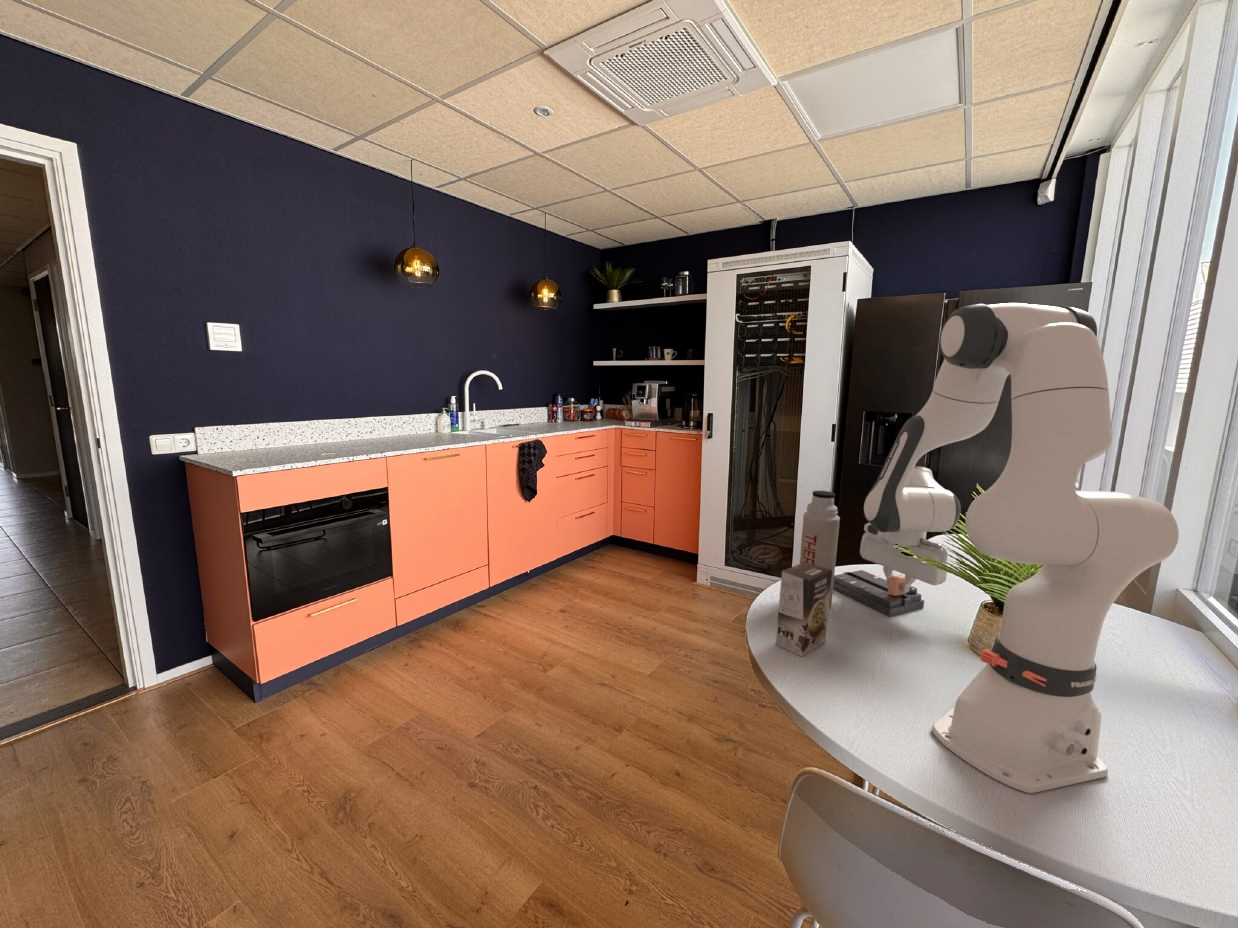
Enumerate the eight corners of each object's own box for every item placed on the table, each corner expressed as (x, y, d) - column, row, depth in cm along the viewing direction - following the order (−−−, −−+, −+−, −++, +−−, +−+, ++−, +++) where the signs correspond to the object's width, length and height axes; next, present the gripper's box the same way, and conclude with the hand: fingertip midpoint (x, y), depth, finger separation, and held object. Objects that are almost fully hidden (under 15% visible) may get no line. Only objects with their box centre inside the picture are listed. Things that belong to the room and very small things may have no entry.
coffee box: (802, 657, 100) (809, 580, 97) (774, 644, 105) (780, 570, 102) (826, 643, 106) (833, 569, 103) (798, 631, 111) (804, 560, 108)
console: (889, 617, 118) (891, 599, 117) (828, 587, 134) (829, 571, 133) (923, 608, 123) (925, 591, 122) (860, 580, 139) (862, 565, 138)
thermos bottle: (810, 613, 119) (820, 496, 114) (789, 598, 127) (798, 489, 122) (838, 609, 122) (849, 495, 117) (816, 595, 129) (826, 487, 124)
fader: (894, 602, 121) (896, 579, 120) (886, 598, 123) (889, 576, 122) (905, 599, 123) (908, 577, 122) (898, 596, 124) (900, 574, 123)
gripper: (957, 544, 112) (949, 603, 114) (876, 520, 130) (870, 571, 132) (938, 548, 109) (930, 608, 112) (858, 523, 127) (853, 575, 130)
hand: (897, 588), depth 122 cm, fingers open, 2 cm apart
